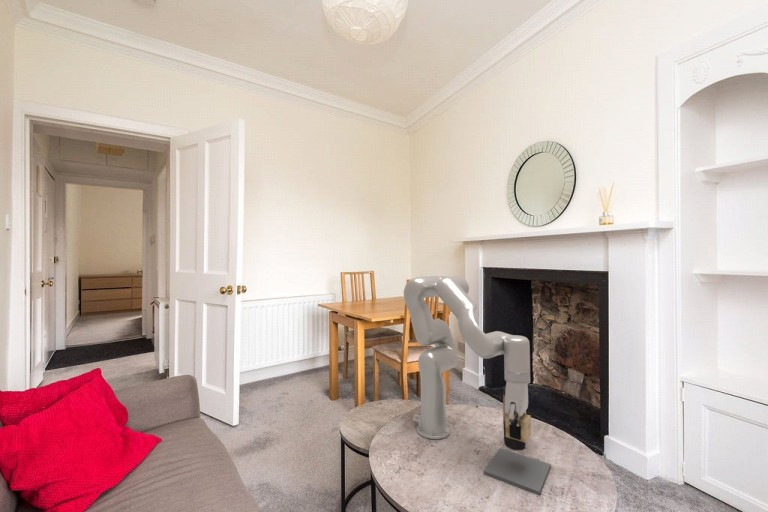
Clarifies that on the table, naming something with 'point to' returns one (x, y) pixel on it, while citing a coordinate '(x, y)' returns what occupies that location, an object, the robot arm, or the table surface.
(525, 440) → the oak block
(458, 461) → the table surface
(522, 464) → the charcoal mat
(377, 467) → the table surface
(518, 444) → the travel mug
